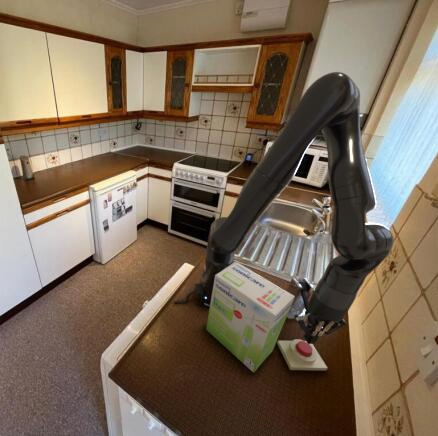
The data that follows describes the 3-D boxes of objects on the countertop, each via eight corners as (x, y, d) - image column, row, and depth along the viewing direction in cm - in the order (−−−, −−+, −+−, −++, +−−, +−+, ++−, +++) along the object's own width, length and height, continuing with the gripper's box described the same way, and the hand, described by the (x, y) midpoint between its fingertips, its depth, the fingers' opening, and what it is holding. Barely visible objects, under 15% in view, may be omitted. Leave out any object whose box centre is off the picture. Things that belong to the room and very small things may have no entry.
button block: (289, 371, 67) (293, 363, 65) (275, 344, 74) (279, 336, 72) (324, 372, 67) (330, 364, 65) (308, 345, 74) (312, 337, 72)
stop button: (300, 356, 67) (302, 352, 66) (293, 344, 70) (295, 340, 69) (313, 356, 67) (315, 353, 66) (305, 344, 70) (307, 341, 69)
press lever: (317, 320, 76) (321, 319, 74) (301, 320, 76) (305, 319, 74) (305, 283, 82) (309, 281, 80) (290, 283, 82) (294, 281, 80)
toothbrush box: (203, 329, 78) (214, 273, 66) (223, 314, 84) (237, 259, 72) (252, 375, 66) (276, 316, 54) (271, 353, 71) (297, 295, 60)
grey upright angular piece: (310, 320, 82) (324, 294, 75) (287, 320, 82) (299, 293, 75) (294, 298, 90) (306, 272, 84) (273, 297, 90) (283, 272, 84)
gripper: (314, 309, 55) (292, 354, 63) (371, 309, 55) (341, 354, 63) (297, 285, 62) (278, 329, 70) (348, 285, 62) (323, 329, 70)
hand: (308, 341), depth 67 cm, fingers closed
